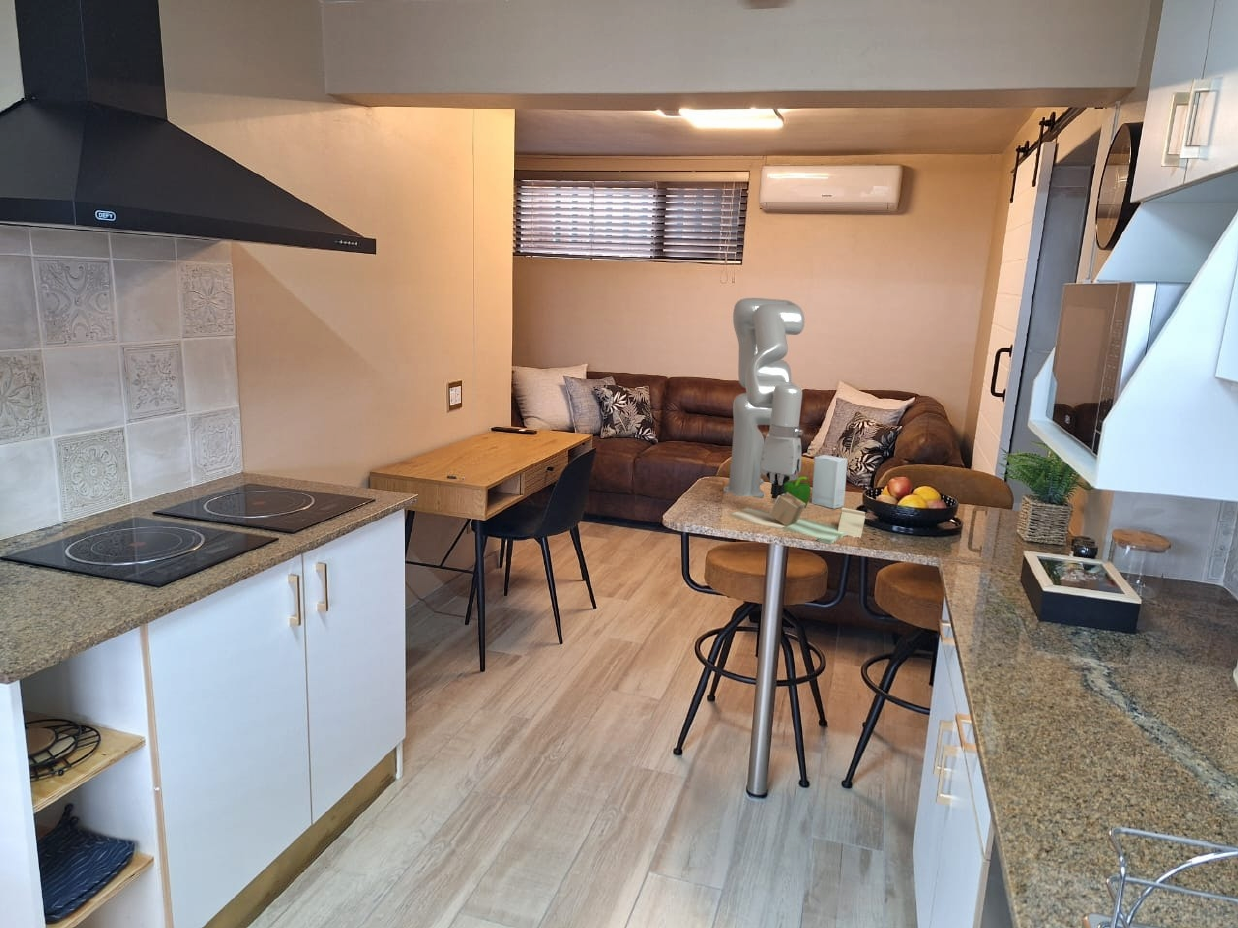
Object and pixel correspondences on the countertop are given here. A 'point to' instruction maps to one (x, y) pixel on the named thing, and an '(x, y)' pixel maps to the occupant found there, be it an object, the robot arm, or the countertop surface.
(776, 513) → the walnut block
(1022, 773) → the countertop surface
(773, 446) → the robot arm
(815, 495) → the skincare box
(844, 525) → the beech block
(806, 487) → the bell pepper
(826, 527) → the board
